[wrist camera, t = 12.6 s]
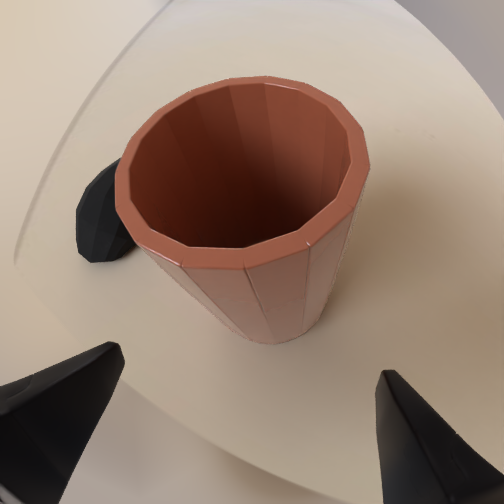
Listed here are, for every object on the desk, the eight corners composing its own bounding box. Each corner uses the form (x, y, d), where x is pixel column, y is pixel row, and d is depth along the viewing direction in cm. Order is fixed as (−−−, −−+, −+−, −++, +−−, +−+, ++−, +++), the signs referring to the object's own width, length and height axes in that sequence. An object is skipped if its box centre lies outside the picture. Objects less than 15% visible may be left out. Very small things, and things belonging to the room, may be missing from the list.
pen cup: (297, 364, 16) (303, 326, 5) (195, 312, 18) (73, 208, 7) (344, 261, 18) (390, 106, 8) (248, 222, 20) (202, 67, 10)
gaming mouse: (223, 137, 24) (213, 102, 21) (114, 281, 20) (83, 259, 16) (171, 124, 26) (158, 93, 23) (72, 246, 22) (43, 223, 18)
